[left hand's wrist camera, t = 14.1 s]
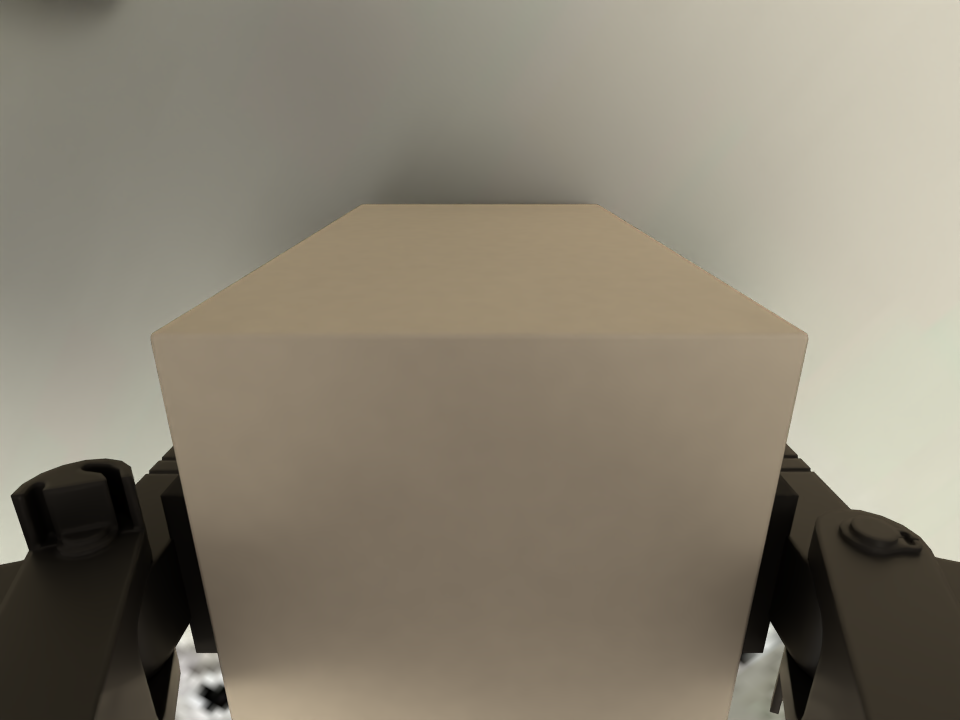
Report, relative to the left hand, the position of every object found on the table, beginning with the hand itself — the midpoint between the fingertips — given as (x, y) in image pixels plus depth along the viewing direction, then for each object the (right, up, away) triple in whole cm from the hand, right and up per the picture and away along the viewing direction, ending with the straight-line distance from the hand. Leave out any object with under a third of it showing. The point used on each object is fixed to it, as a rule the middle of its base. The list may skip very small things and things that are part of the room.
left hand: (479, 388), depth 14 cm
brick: (0, +2, +4) cm, 4 cm away
